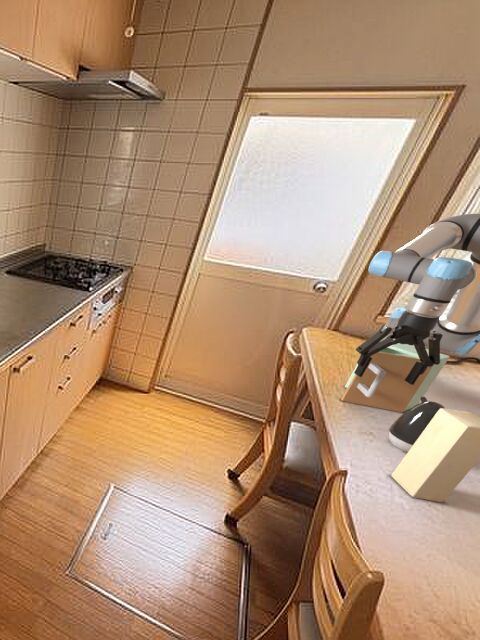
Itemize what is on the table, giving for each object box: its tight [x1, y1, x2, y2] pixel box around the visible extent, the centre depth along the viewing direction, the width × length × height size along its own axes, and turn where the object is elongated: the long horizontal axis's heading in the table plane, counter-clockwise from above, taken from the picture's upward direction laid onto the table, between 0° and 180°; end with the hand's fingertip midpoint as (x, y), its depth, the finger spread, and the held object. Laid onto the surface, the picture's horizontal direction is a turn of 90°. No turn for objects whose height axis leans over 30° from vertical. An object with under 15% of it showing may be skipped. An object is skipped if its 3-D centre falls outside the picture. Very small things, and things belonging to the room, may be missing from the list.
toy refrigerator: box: [390, 408, 480, 503], centre depth 98 cm, size 8×7×21 cm
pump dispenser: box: [388, 396, 446, 453], centre depth 116 cm, size 10×10×15 cm
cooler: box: [344, 336, 451, 412], centre depth 143 cm, size 10×17×19 cm, turn 25°
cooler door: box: [340, 352, 434, 413], centre depth 133 cm, size 8×17×19 cm, turn 71°
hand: (383, 378), depth 129 cm, fingers open, 13 cm apart
